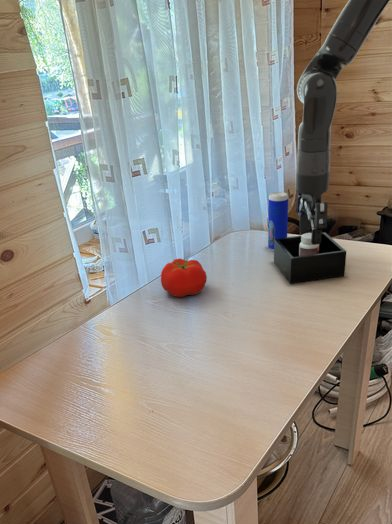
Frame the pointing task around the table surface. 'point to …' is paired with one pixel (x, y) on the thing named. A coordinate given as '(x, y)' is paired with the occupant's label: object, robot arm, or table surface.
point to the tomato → (183, 277)
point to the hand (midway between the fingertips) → (309, 238)
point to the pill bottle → (307, 246)
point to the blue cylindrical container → (277, 217)
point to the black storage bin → (309, 260)
